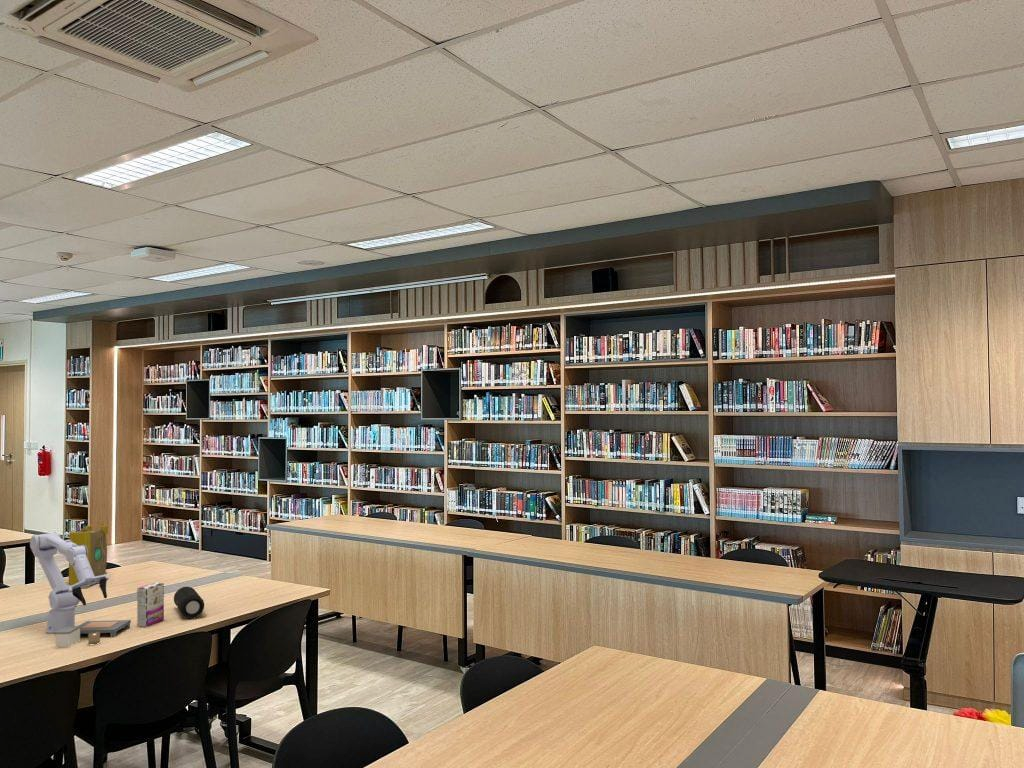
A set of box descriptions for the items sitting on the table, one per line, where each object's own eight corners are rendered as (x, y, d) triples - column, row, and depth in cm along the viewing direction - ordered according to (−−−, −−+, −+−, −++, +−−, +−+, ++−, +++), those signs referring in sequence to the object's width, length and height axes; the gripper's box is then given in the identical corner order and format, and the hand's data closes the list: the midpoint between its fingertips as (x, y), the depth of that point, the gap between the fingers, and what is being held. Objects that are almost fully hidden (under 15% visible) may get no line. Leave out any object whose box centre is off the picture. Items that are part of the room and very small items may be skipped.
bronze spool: (86, 645, 284) (86, 635, 285) (91, 642, 288) (91, 632, 289) (96, 645, 285) (96, 634, 285) (101, 642, 289) (102, 631, 289)
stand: (68, 638, 294) (68, 630, 294) (86, 628, 308) (86, 620, 308) (114, 637, 295) (114, 628, 295) (130, 627, 309) (130, 619, 309)
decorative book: (87, 588, 381) (88, 530, 382) (66, 588, 381) (67, 530, 382) (108, 580, 401) (109, 524, 402) (88, 580, 401) (89, 525, 402)
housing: (55, 648, 282) (55, 632, 282) (66, 641, 290) (67, 626, 290) (68, 647, 282) (69, 631, 282) (79, 641, 290) (80, 626, 290)
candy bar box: (154, 619, 320) (154, 581, 321) (164, 620, 319) (164, 582, 320) (136, 626, 309) (136, 587, 310) (146, 627, 308) (147, 588, 309)
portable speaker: (172, 608, 339) (173, 587, 339) (195, 605, 344) (196, 584, 344) (180, 621, 317) (181, 598, 318) (205, 617, 322) (205, 595, 323)
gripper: (64, 573, 291) (76, 603, 287) (104, 561, 301) (116, 589, 297) (63, 582, 296) (74, 611, 291) (102, 569, 306) (114, 597, 301)
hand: (95, 600), depth 294 cm, fingers open, 7 cm apart
